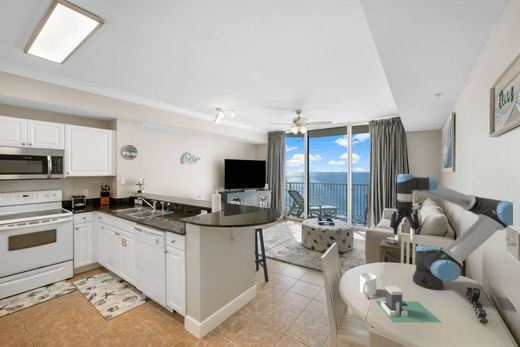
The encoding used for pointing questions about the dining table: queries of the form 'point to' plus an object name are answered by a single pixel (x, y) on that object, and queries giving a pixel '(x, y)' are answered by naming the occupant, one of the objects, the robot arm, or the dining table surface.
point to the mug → (367, 284)
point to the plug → (394, 299)
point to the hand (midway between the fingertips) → (404, 240)
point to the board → (412, 313)
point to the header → (393, 313)
